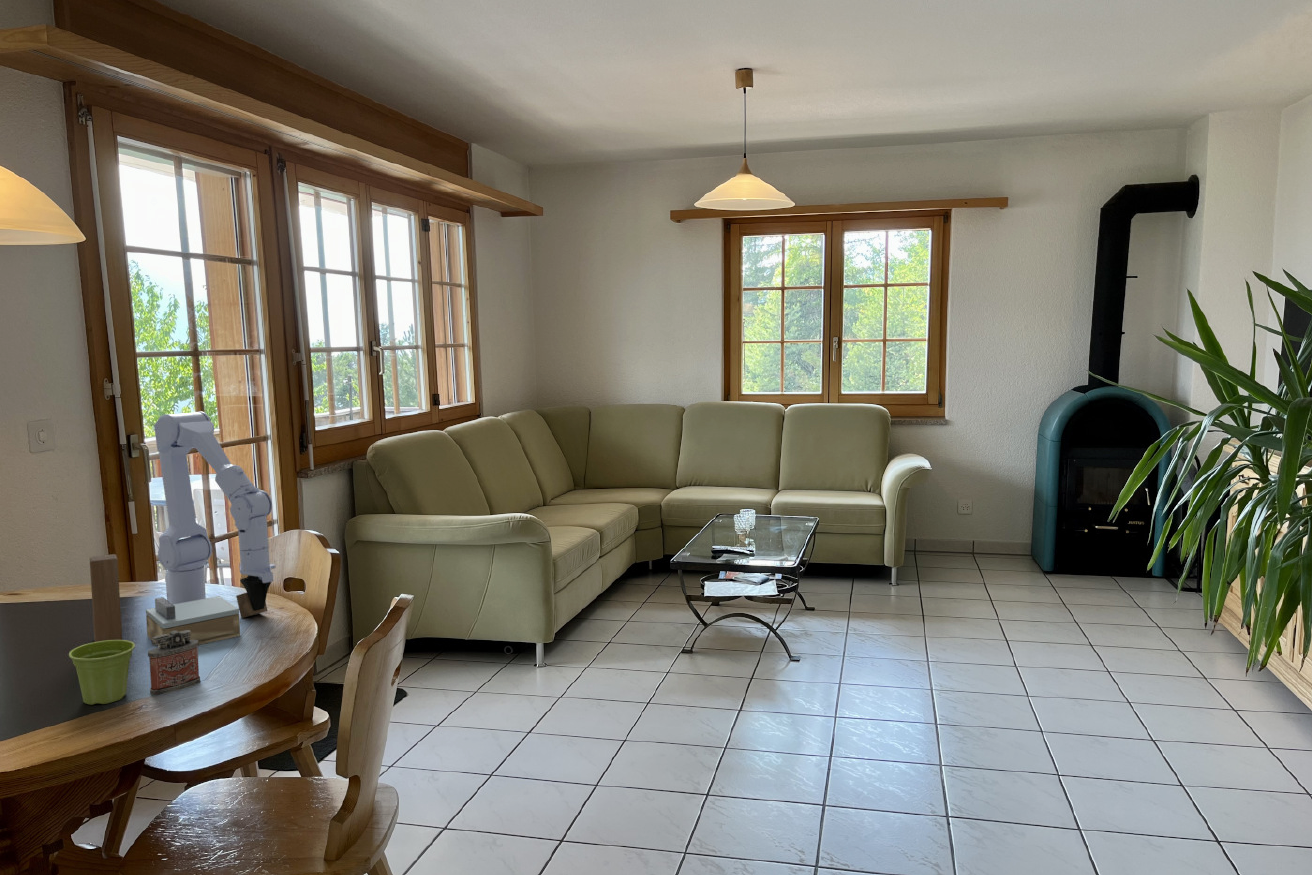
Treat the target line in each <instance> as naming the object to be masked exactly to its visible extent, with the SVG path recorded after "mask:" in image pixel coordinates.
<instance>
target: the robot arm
mask: <svg viewBox="0 0 1312 875" xmlns="http://www.w3.org/2000/svg"><path fill="white" fill-rule="evenodd" d="M153 429H154V435H155V443H156V449H157V451H158V455H159V456H158V458H159V462H160V469H161V477H162V483H163V484H162V485H163V490H164V497H165V498H164V499H165V505H166V511H167V512H166V513H167V518H168V519H167V520H168V527H167V528H166V530H165V531H163V533H161V535H159V537H158V541H159V542H158V543H159V548H158V552H157V556H158V561H159V563H160V565H161V566H162V567H163V568H164V570H166V571H167V572H166V573H165V588H166V591H165V592H166V600H168V601H169V602H170V603H172V604H179V603H184V602H190V601H195V600H200V599H206V598H207V596H206V578H205V577H206V574H205V565H208V560H209V559H210V558H211V557H212V554H213V545H212V543H211V541H210V539H209V536H208V532H207V529H206V528H205V527H203V526H202V525H200V524H199V523H197V520H196V512H195V506H194V499H193V492H192V490H193V489H192V485H191V477H190V470H189V463H188V454H189V452H190V451H191V450H192V449H196V451H197V452H198V454H200V455H201V456H202V458H204V460H205V462H207V464H209V466H210V467H211V468H212V470H214V472H215V478H214V481H215V483H216V484H217V486H218V487H219V488H220V489H221V491H222V492H223V494H224V495H225V497H226V498H227V499H228V501H229V503H230V504H231V505H230V506H231V507H229V512H230V515H231V516H232V518H233V520H234V526H235V527H236V528H235V529H237V532H238V545H239V548H238V549H239V562H240V563H238V566H239V573H240V574H241V575H244V576H246V577H244V578H241V579H240V583H241V584H242V586H243V587H244V590H245V591H246V593H247V594H248V597H249V600H250V603H251V606H252V608H253V610H254V611H256V610H261V609H264V606H265V601H266V602H267V600H266V599H267V596H268V591H269V589H270V585H271V584H272V582H274V573H273V571H272V570H273V569H276V564H274V563H271V562H270V560H271V559H270V551H269V550H270V549H269V547H270V546H269V535H268V534H269V533H268V532H269V531H268V521H267V520H268V519H267V516H269V515H270V514H271V512H272V509H273V501H272V499H271V497H270V494H269V493H268V492H267V491H265V490H263V489H262V490H261V489H260V488H259V487H257V486H256V487H255V485H254V484H253V483H252V481H251V480H250V478H249V477H248V475H247V474H246V473H245V470H244V469H243V468H242V467H241V466H239V465H237V464H232V463H231V461H230V460H229V458H228V456H227V454H226V453H225V451H224V450H223V448H222V446H221V444H220V443H219V441H218V440H217V437H216V436H215V435H214V433H215V423H213V422H212V420H211V418H210V417H209V415H208V414H207V413H206V412H204V411H201V410H200V411H196V412H187V413H185V412H184V413H183V412H182V413H174V414H173V413H172V414H168V413H167V414H166V413H165V414H162V415H161V416H159V418H158V419H157V421H156V422H155V424H153Z"/></svg>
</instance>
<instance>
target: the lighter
mask: <svg viewBox="0 0 1312 875" xmlns="http://www.w3.org/2000/svg"><path fill="white" fill-rule="evenodd" d="M190 637H191V631H190V630H185V631H181V632H178V631H175V630H174V631H171V632H170V634H168V635H167V634H164V635H160V636H156V637H153V638H152V640H151V645H152V646H157V645H159V644H160V647H158V646H157V647H154V648H152V649H149V650H148V651H147V657H148V659H149V674H150V675H149V676H150V687H149V694H150V695H151V696H161V695H166V694H170V693H174V692H177V691H178V692H179V691H182V690H185V689H188V688H190V687H193V686H197V685H198V684H200V683H201V676H200V675H199V674H200V671H199V651H198V647H199V645H198V640H190ZM183 638H184V640H185V641H183ZM167 642H168V643H167ZM165 643H167V645H166V644H165Z"/></svg>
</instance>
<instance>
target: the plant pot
mask: <svg viewBox="0 0 1312 875" xmlns="http://www.w3.org/2000/svg"><path fill="white" fill-rule="evenodd" d="M135 648H136V643H134V642H133V641H131V640H127V639H122V640H106V641H99V642H95V641H94V642H93V641H92V642H89V643H86V644H82V645H80V646H77V647H75V648H72V649H71V650H70V651H69V653H68V656H69V657H68V658H70V659H71V660H72V664H73V665H74V667H75V670H76V674H77V678H78V683H79V687H80V692H81V696H82V701H83V703H84V704H87V705H91V706H93V705H95V704H101V705H106V704H107V705H108V704H110V703H114V702H117V701H119V700H122V699H123V697H124V696H126V695H127V688H128V678H129V670H130V669H129V668H130V661H131V657H132V655H133V654H132V653H133V651H134V649H135Z"/></svg>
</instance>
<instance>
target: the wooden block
mask: <svg viewBox="0 0 1312 875" xmlns="http://www.w3.org/2000/svg"><path fill="white" fill-rule="evenodd" d="M118 565H119V561H118V556H117V554H115V553H113V554H104V555H103V554H102V555H95V556H90V557H89V572H90V587H91V602H92V623H93V636H94V642H99V641H106V640H123V629H122V626H123V625H122V611H121V610H122V609H121V593H120V581H119V579H120V578H119V566H118Z"/></svg>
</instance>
